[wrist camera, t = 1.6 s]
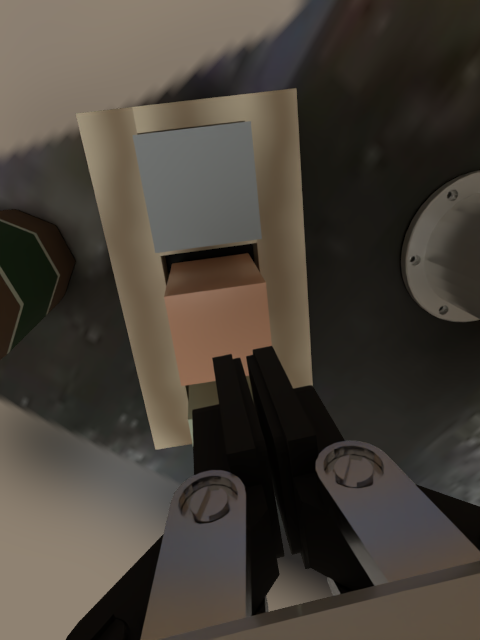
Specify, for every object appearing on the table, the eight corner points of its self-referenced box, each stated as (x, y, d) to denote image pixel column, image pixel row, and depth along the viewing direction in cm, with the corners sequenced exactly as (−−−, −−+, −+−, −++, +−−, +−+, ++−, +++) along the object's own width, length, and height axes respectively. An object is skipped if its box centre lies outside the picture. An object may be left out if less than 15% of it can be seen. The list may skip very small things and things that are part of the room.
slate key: (235, 133, 26) (250, 121, 19) (244, 219, 29) (261, 239, 21) (150, 143, 26) (132, 135, 19) (166, 230, 28) (155, 253, 21)
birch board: (286, 95, 28) (296, 88, 26) (306, 405, 38) (314, 424, 35) (87, 118, 28) (75, 113, 25) (158, 428, 37) (155, 449, 34)
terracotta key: (248, 253, 29) (265, 282, 22) (255, 323, 31) (274, 371, 24) (172, 263, 29) (163, 296, 22) (184, 333, 31) (181, 386, 24)
